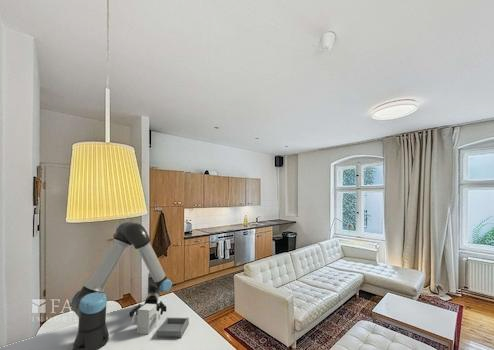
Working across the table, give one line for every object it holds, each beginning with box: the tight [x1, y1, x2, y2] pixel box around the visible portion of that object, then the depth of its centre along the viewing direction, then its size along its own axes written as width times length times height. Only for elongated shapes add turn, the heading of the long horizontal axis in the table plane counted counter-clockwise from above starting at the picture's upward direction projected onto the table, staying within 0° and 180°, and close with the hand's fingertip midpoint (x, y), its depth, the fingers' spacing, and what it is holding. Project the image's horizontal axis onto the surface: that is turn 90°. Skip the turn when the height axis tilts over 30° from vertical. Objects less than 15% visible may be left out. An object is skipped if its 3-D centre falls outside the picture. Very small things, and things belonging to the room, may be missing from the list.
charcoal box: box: [156, 317, 190, 339], centre depth 125 cm, size 13×13×4 cm
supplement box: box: [136, 304, 157, 335], centre depth 126 cm, size 7×7×13 cm
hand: (146, 318), depth 123 cm, fingers open, 13 cm apart
